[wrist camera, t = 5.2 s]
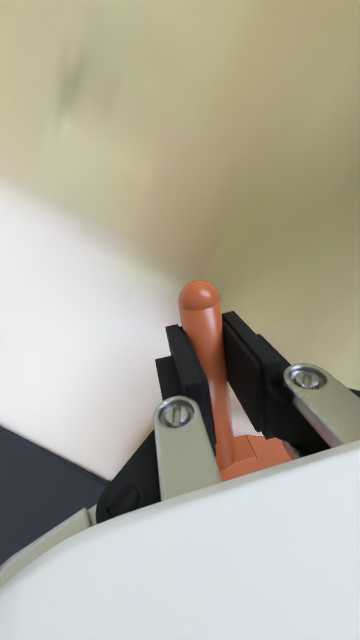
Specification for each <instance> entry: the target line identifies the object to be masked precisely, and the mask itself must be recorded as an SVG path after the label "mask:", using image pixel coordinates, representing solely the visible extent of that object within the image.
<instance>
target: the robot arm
mask: <svg viewBox="0 0 360 640" xmlns="http://www.w3.org/2000/svg"><path fill="white" fill-rule="evenodd" d="M222 325H223V336H224V346H225V357H226V368H227V378H228V382H229V384H230V386H231V388H232V389H233V391H234V393H235V395H236V396H237V398H238V400H239V402H240V404H241V405H242V407H243V409H244V411H245V412H246V414H247V416H248V418H249V419H250V421H251V423H252V425H253V427H254V428H255V430H256V431H257V432H262V434H263V435H264V437H265V439H266V440H268V439H271V438H277V439H280V440H282V444H283V447H284V449H285V450H286V452H287V453H288V454H289V456H290V457H291V459H292V461H289V462H285V463H282V464H279V465H276V466H272V467H269V468H266V469H263V470H259V471H256V472H253V473H250V474H247V475H243V476H240V477H237V478H234V479H231V480H227V481H224V482H222V479H221V476H220V472H219V469H218V466H217V463H216V460H215V457H216V455H217V454H216V447H215V445H216V444H217V439H216V432H215V425H214V418H213V410H212V403H211V396H210V389H209V384H208V380H207V377H206V374H205V372H204V370H203V368H202V366H201V364H200V361H199V359H198V357H197V355H196V353H195V351H194V348H193V346H192V344H191V342H190V340H189V338H188V336H187V333H186V332H185V331H184V330H183V327H182V326H181V327H179V326H178V324H176V325H171V326H167V327H165V328H166V333H167V338H168V343H169V347H170V352H171V356H168V357H164V358H160V359H156V360H155V362H156V367H157V373H158V378H159V383H160V388H161V393H162V398H163V402H161V403H160V404H159V405H158V406H157V408H156V410H155V412H154V418H153V419H154V430H153V431H152V432H151V434H150V435H149V436H148V437H147V439H146V440H145V441H144V442H143V443H142V445H141V446H140V447H139V448H138V449H137V451H136V452H135V453H134V454H133V456H132V457H131V458H130V459H129V460H128V462H127V463H126V464H125V465H124V467H123V468H122V469H121V470H120V471H119V473H118V474H117V475H116V476H115V478H114V479H113V480H112V481H111V482H110V484H109V485H108V486H107V487H106V489H105V490H104V492H103V493H102V495H101V496H100V498H99V501H98V503H97V504H96V505H95V506H93V507H92V508H90V509H89V510H87V509H86V508H83V509H82V510H80V511H79V512H77V513H76V514H74V515H73V516H71V517H70V518H68V519H67V520H65V521H64V522H62V523H61V524H59V525H58V526H56V527H55V528H53V529H52V530H50V531H49V532H47V533H46V534H44V535H43V536H41V537H40V538H38V539H37V540H35V541H34V542H32V543H31V544H29V545H28V546H26V547H25V548H23V549H22V550H20V551H19V552H17V553H16V554H14V555H13V556H11V557H10V558H9V559H8V560H7V561H6V562H4V563H3V564H2V565H1V566H0V640H360V391H357V390H353V389H349V388H347V387H345V386H344V385H343V384H342V383H340V382H339V381H338V380H337V379H335V378H334V377H333V376H332V375H331V374H329V373H328V372H327V371H325V370H324V369H322V368H320V367H318V366H315V365H311V364H295V365H291V364H290V363H289V362H288V361H287V360H286V359H285V358H284V357H283V356H282V355H281V354H280V353H279V352H278V351H277V350H276V349H275V348H274V347H273V346H272V345H271V344H270V343H269V342H268V341H267V340H266V339H265V338H264V337H263V336H261V335H260V334H257V335H256V334H255V333H254V332H253V331H252V330H251V328H250V327H249V326H248V325H247V324H246V323H245V322H244V321H243V320H242V319H241V318H240V317H239V316H238V315H237V314H236V313H235V312H234V311H231V312H227V313H222Z"/></svg>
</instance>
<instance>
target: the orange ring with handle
mask: <svg viewBox="0 0 360 640" xmlns="http://www.w3.org/2000/svg"><path fill="white" fill-rule="evenodd" d="M178 304H179V310H180V316H181V322H182V327H183V330H184V331H185V332H186V333H187V336H188V338H189V340H190V342H191V344H192V346H193V348H194V351H195V353H196V355H197V357H198V359H199V361H200V364H201V366H202V368H203V370H204V372H205V374H206V377H207V380H208V384H209V389H210V396H211V403H212V410H213V418H214V425H215V432H216V439H217V444H216V445H215V447H216V454H217V455H216V457H215V460H216V463H217V466H218V469H219V472H220V476H221V479H222V482H224V481H227V480H231V479H234V478H237V477H240V476H243V475H247V474H250V473H253V472H256V471H259V470H263V469H266V468H269V467H272V466H276V465H279V464H282V463H285V462H289V461H292V459H291V457H290V456H289V454H288V453H287V452H286V450H285V449H284V447H283V444H282V440H280V439H277V438H271V439H268V440H266V439H265V437H260V436H252V435H243V436H240V437H236V438H233V431H232V420H231V410H230V399H229V388H228V378H227V368H226V357H225V346H224V336H223V325H222V314H221V303H220V296H219V293H218V291H217V289H216V288H215V287H214V286H213V285H212V284H210V283H209V282H206V281H202V280H197V281H192V282H190V283H188V284H187V285H186V286H185V287H184V288H183V289H182V290H181V292H180V295H179V299H178Z"/></svg>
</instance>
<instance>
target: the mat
mask: <svg viewBox="0 0 360 640" xmlns="http://www.w3.org/2000/svg"><path fill="white" fill-rule="evenodd" d="M109 484H110V483H109V482H107V481H105V480H103V479H101V478H99V477H97V476H95V475H93V474H91V473H89V472H88V471H86V470H84V469H82V468H80V467H78V466H76V465H74V464H72V463H70V462H68V461H66V460H64V459H62V458H60V457H58V456H56V455H54V454H53V453H51V452H49V451H47V450H45V449H43V448H41V447H39V446H37V445H35V444H33V443H31V442H29V441H27V440H25V439H23V438H21V437H20V436H18V435H16V434H14V433H12V432H10V431H8V430H6V429H4V428H2V427H0V566H1V565H2V564H3V563H4V562H6V561H7V560H8V559H9V558H10V557H11V556H13V555H14V554H16V553H17V552H19V551H20V550H22V549H23V548H25V547H26V546H28V545H29V544H31V543H32V542H34V541H35V540H37V539H38V538H40V537H41V536H43V535H44V534H46V533H47V532H49V531H50V530H52V529H53V528H55V527H56V526H58V525H59V524H61V523H62V522H64V521H65V520H67V519H68V518H70V517H71V516H73V515H74V514H76V513H77V512H79V511H80V510H82V509H83V508H86V509H87V510H89V509H90V508H92V507H93V506H95V505H96V504H97V503H98V501H99V498H100V496H101V495H102V493H103V492H104V490H105V489H106V487H107V486H108V485H109Z"/></svg>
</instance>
